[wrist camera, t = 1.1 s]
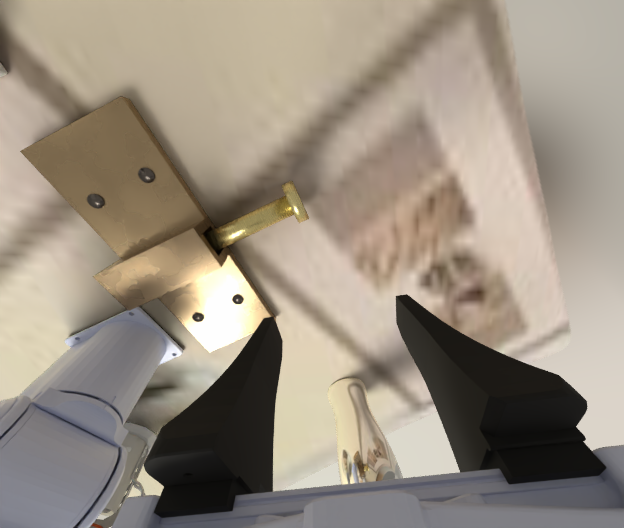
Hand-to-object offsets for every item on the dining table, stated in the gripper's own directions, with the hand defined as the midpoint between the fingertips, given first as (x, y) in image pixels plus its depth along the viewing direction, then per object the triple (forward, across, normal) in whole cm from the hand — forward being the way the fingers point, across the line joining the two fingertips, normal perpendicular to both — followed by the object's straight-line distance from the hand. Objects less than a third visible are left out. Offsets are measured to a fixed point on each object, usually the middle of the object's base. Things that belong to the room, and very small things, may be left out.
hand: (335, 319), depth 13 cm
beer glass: (+12, +1, +26) cm, 28 cm away
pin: (+12, +7, -4) cm, 14 cm away
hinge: (+11, +14, -2) cm, 18 cm away
